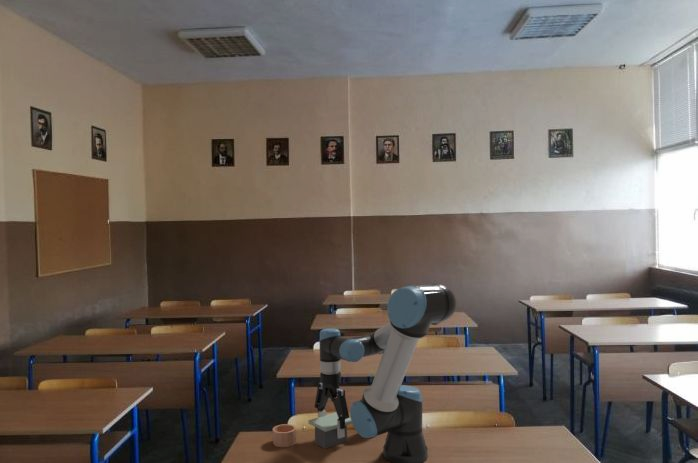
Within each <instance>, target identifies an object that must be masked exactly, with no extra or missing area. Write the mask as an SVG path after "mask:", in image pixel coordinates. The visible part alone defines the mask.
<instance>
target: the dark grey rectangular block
mask: <svg viewBox="0 0 698 463" xmlns="http://www.w3.org/2000/svg"><path fill="white" fill-rule="evenodd" d="M346 442H348V425H346V426H345V437H342V438H339V439H338V438H337V428H336V429H333V430H330V431H326V432H325V431H323V430H321V429H319V428H317V427H314V444H315V445H318V447H321V448H323V449H328V448H331V447H334V446H337V445H340V444H343V443H346Z"/></svg>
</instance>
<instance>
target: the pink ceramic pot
mask: <svg viewBox="0 0 698 463" xmlns="http://www.w3.org/2000/svg"><path fill="white" fill-rule="evenodd" d="M296 443H297V426H295V425H294V424H290V423H289V424H288V423H284V424H282V423H281V424H279V425H275V426H274V427H272V445H273V444H274V445H273V446H275V447H279V448H289V447H292V446H294V445H295V444H296Z"/></svg>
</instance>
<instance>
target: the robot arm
mask: <svg viewBox="0 0 698 463" xmlns="http://www.w3.org/2000/svg"><path fill="white" fill-rule="evenodd" d="M386 306H387V307H386V310H387V311H388V312H387V316H388V319H389V322H388V323H385V324H384V325H382V326H381V327H379V328H378V329H376V330H375V331H374V332H372V333H369V334H364V335H357V336H351V337H343V336H341V331H340V330H339V328H333V327H331V328H329V327H327V328H324V329H321V330H320V331H319V339H318V341H319V371H320V374H319V376H320V377H319V378H320V380H319V383H317V384H316V385H317V386H316V388H317V389H316V394H315V395H316V396H315V402H314V408H315V409H317V413H318V415H317V416H318V417H322V416H325V415H327V411H326V406H327V403H328V401H329V399H330V401H331V402H332V403H333V406H334V409H335V413H336V412H337V415H338V418H339V419H337V438H338V439H339V438H342V437H345V419H347V418H349V417H350V418H351V420H352V424H351V425H352V426H353V428H354V429H355V432H357V434H358V435H359V436H360V437H362V438H364V439H370V438H371V439H372V438H375V437H378V436H380V435H384V434H386V433H387V435H386V438H385V441H384V442H385V443H384V445H383V448H382V449H383V450H382V451H383V452H382V453H383V455H382V456H383V457H384V458H385V459H386V460H387V461H389V462H391V463H423V462H425V461H426V460H427V459H428V457H429V451H428V449H429V448H428V446H427V445H426V440H425V437H424V433H423V399H422V398H423V397H422V392H421V390H420V389H419V388H417V387H414V386H410V385H407V384H406V385H405V384H402V383H403V381H404V379H405V375H406V374H407V370H408V368H409V366H410V363H411V361H412V358H413V356H414V353H415V351H416V348H417V345H418V342H419V341H420V339H423V338H425V337H426V336H427V334H428V332H429V330H430V327H431V326H437V325H439V324H441V323H443V322H446V321H447V320H448V319H450V318H451V317H453V315H454V314H455V311H456V308H457V298H456V295H455V294H454V293H453V291H452V290H451V289H450V288H449V287H448V286H446V285H444V284H440V283H428V284H423V285H422V284H420V285H413V284H412V285H411V284H410V285H406V286H402V287H399V288H397V289H396V290H394V291H393V292H392V293H391V295H390V296H389V298H388V302H387V305H386ZM376 355H382V356H381V358H380V361H379V364H378V366H377V369H376V371H375V372H376V373H375V375H374V378H373V380H372V384H371V385H369V386H367V387H366V388H365V389H364V391H363V394H362V397H361V399H360V400H355V401H354V402H353V403H352V404H351V405H350V409H348V408H349V407H348V404H347V399H346V391H345V390H346V389H343V388H342V389H341V388H340V383H341V381H342V373H341V360H343V361H346V362H349V363H357V362H359V361H360V360H362V358H366V357H370V356H376ZM318 417H317V418H318Z"/></svg>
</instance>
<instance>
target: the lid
mask: <svg viewBox="0 0 698 463" xmlns="http://www.w3.org/2000/svg"><path fill="white" fill-rule="evenodd" d="M337 419H339V418H338V415H337V412H336V411H335V412H332V413H329V414H326V415H325V416H322V417H316V418H315V417H314V418H312V419H309V420H308V425H311V426H313V427H314V428H315V427H317V428H319V429H321V430H323V431H325V432H326V431H330V430H333V429H336V428H337ZM346 425H347V426H348V425H353V424H352V420H351V417H350V416H349V418H347V419H345V426H346Z"/></svg>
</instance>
